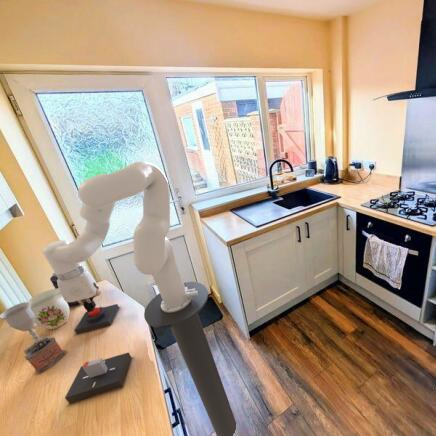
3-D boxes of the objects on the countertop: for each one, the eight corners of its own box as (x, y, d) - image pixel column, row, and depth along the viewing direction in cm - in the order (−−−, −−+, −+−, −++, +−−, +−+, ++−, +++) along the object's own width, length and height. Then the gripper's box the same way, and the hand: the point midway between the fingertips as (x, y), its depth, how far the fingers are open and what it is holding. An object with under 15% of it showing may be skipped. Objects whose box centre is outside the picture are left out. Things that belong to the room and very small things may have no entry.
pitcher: (25, 331, 100) (5, 306, 94) (79, 305, 111) (64, 281, 105) (26, 346, 93) (4, 320, 87) (84, 316, 104) (68, 291, 98)
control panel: (132, 358, 83) (128, 351, 82) (122, 387, 75) (118, 380, 73) (85, 372, 80) (80, 366, 79) (69, 404, 72) (64, 397, 70)
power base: (119, 307, 107) (115, 300, 105) (110, 325, 98) (106, 317, 97) (88, 315, 104) (83, 308, 103) (76, 334, 96) (71, 326, 94)
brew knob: (108, 368, 77) (101, 357, 75) (106, 373, 76) (99, 362, 74) (92, 373, 76) (84, 362, 74) (89, 378, 75) (81, 367, 73)
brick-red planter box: (61, 350, 89) (47, 331, 85) (67, 353, 88) (53, 333, 84) (34, 371, 82) (17, 351, 78) (40, 374, 81) (23, 354, 77)
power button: (102, 309, 102) (100, 306, 101) (98, 315, 99) (96, 312, 98) (92, 311, 101) (90, 308, 100) (88, 318, 98) (86, 315, 97)
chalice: (32, 357, 88) (2, 320, 80) (26, 349, 91) (-3, 313, 84) (57, 341, 93) (31, 305, 86) (51, 334, 97) (25, 299, 89)
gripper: (40, 283, 86) (65, 321, 94) (89, 273, 89) (109, 310, 97) (53, 271, 93) (75, 308, 100) (97, 262, 96) (115, 298, 104)
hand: (91, 309), depth 99 cm, fingers closed
